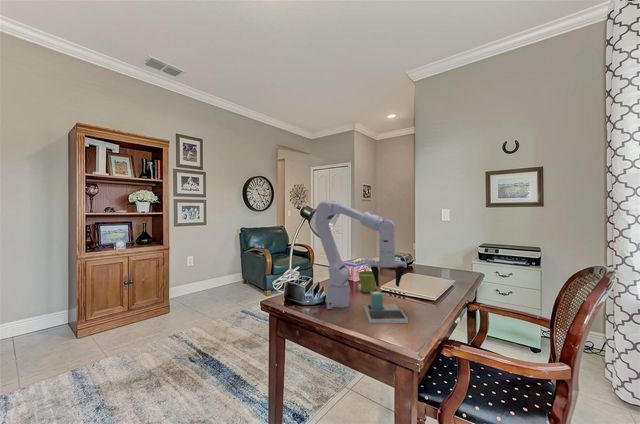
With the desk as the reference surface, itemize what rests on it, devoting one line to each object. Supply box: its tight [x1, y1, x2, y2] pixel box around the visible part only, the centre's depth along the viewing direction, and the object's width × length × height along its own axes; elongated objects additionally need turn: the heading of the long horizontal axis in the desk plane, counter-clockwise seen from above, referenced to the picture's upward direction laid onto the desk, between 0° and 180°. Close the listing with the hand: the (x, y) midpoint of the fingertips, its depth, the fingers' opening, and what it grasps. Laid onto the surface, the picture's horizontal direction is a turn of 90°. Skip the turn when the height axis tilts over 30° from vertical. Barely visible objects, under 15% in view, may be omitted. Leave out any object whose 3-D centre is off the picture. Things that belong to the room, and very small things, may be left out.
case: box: [365, 309, 409, 324], centre depth 95 cm, size 13×8×2 cm, turn 88°
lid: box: [363, 303, 400, 313], centre depth 103 cm, size 13×8×1 cm, turn 88°
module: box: [370, 291, 384, 310], centre depth 103 cm, size 4×4×6 cm
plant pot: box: [357, 270, 376, 293], centre depth 126 cm, size 9×9×9 cm
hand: (387, 285), depth 101 cm, fingers open, 7 cm apart
